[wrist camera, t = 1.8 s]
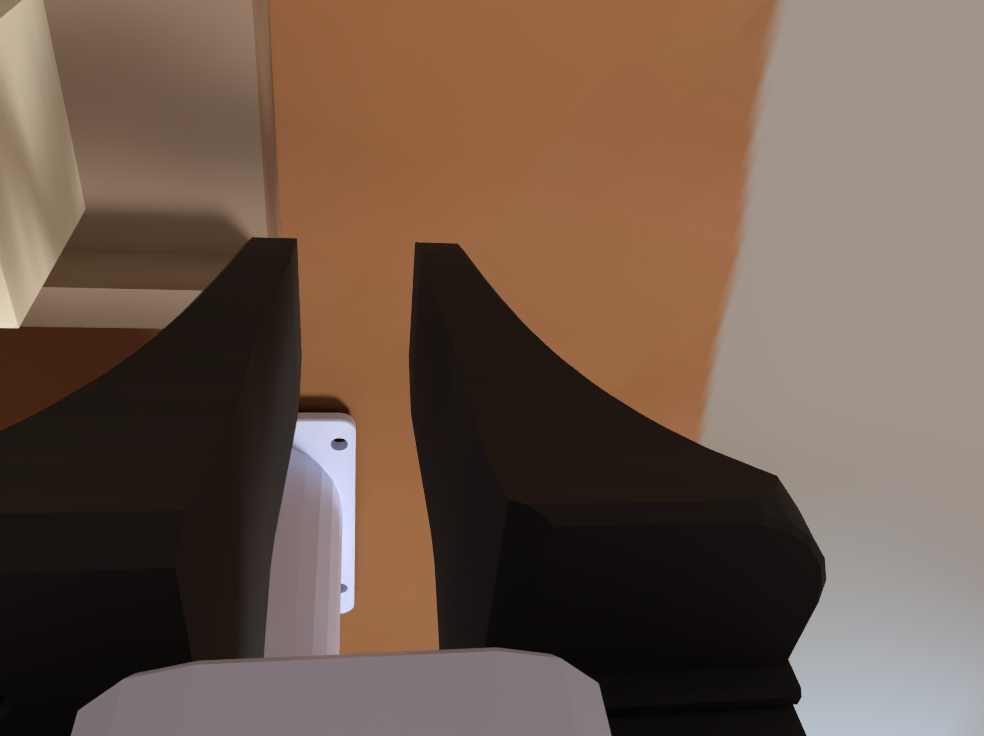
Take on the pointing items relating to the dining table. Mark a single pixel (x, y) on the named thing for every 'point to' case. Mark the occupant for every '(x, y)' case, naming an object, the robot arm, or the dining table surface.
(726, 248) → the dining table surface
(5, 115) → the maple block
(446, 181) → the dining table surface
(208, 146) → the trap box
